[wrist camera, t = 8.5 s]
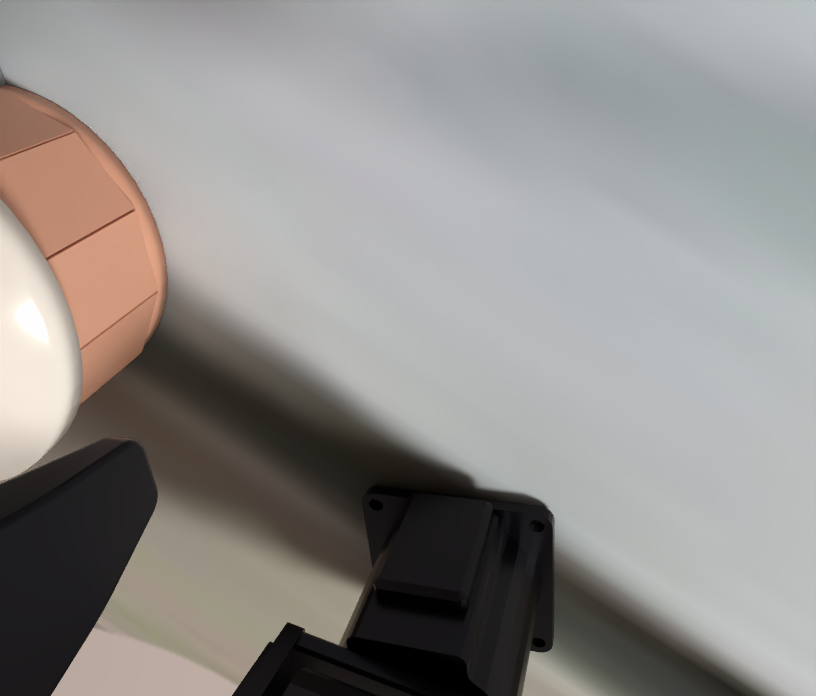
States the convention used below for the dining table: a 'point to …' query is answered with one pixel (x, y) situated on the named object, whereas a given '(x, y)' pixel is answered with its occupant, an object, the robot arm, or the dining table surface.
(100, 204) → the bowl
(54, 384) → the lid
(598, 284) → the dining table surface
